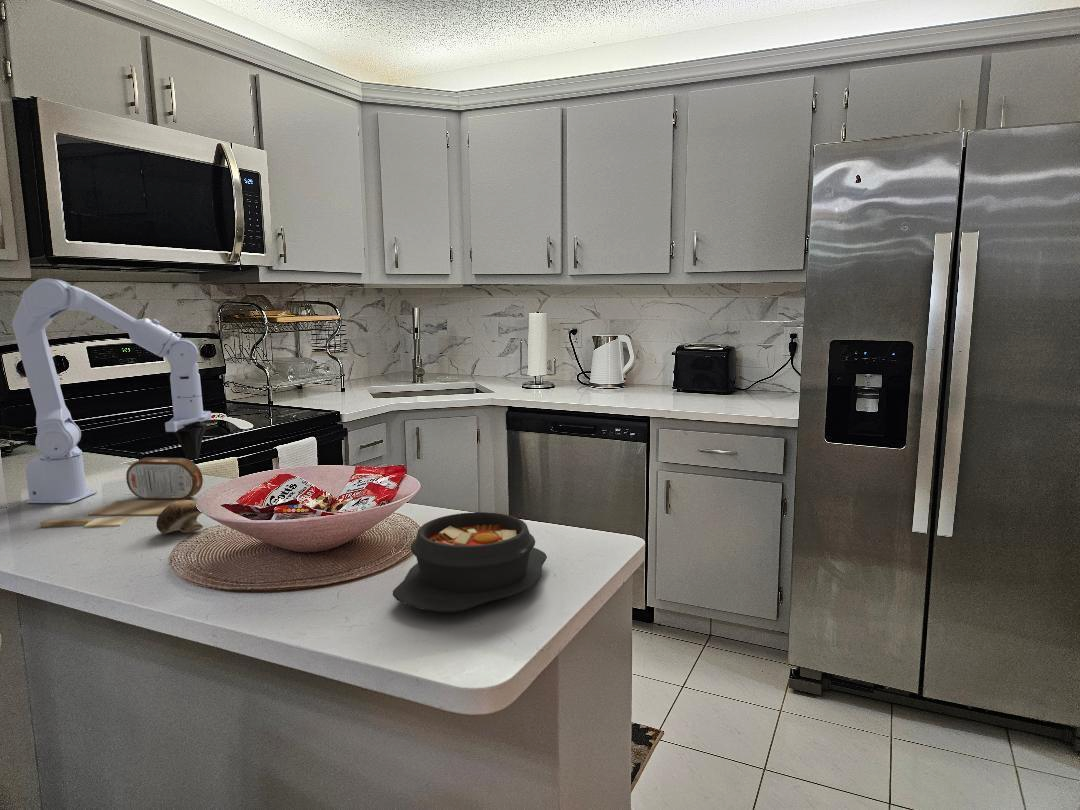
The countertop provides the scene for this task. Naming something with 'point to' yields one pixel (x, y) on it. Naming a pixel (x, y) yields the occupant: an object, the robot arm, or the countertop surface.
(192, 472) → the tin
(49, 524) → the turner
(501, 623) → the countertop surface
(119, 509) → the tan flat board
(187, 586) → the countertop surface
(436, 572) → the casserole
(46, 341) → the robot arm
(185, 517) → the mushroom
